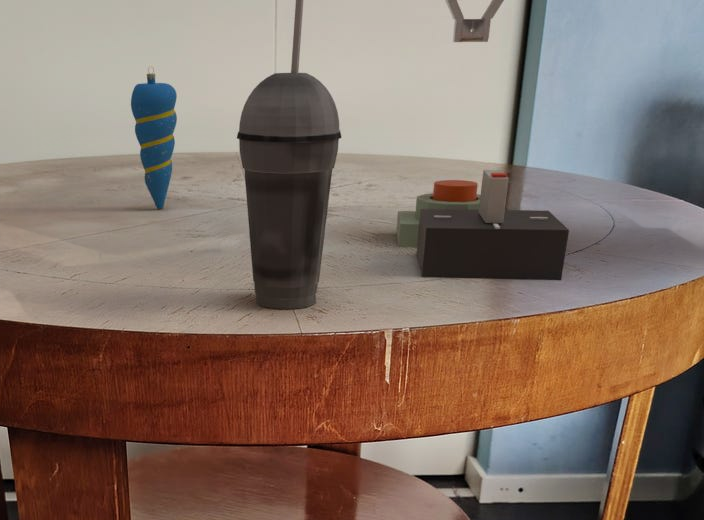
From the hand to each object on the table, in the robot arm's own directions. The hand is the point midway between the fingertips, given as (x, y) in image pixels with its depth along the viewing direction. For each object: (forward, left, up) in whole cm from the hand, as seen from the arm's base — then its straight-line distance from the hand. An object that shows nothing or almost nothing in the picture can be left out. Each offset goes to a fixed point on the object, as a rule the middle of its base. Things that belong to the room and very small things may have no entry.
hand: (470, 42), depth 79 cm
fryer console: (-2, +11, -17) cm, 20 cm away
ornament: (+32, -16, -17) cm, 40 cm away
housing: (0, 0, -17) cm, 17 cm away
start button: (0, 0, -14) cm, 14 cm away
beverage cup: (+14, +24, -17) cm, 33 cm away
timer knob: (-2, +11, -13) cm, 17 cm away
